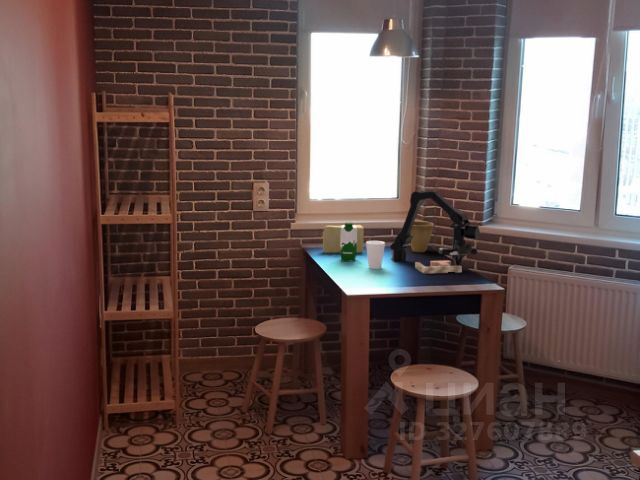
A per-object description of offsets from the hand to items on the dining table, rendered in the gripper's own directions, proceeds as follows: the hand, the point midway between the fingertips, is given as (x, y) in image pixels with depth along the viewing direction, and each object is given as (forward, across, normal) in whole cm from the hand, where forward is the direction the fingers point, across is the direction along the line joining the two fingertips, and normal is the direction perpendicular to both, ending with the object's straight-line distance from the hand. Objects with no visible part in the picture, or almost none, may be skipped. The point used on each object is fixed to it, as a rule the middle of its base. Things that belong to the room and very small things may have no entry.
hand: (457, 267), depth 392 cm
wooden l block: (+1, -10, 0) cm, 10 cm away
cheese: (+1, -48, +52) cm, 71 cm away
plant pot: (+1, -4, +48) cm, 49 cm away
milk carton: (+1, -49, +32) cm, 58 cm away
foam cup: (+1, -40, +10) cm, 42 cm away
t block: (+1, -7, +1) cm, 7 cm away
